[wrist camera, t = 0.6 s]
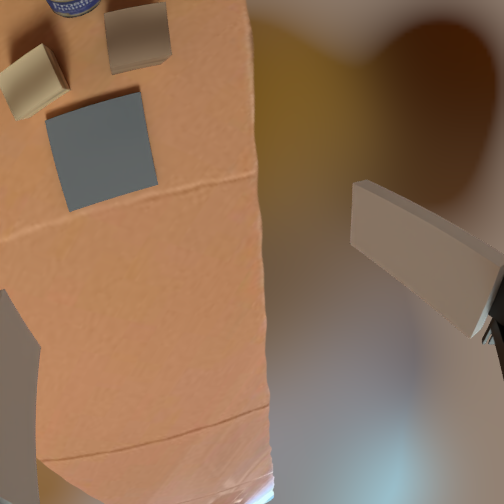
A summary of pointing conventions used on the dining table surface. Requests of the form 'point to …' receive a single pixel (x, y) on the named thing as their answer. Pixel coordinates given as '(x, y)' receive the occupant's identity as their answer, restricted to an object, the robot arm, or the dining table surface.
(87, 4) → the pill bottle
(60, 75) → the oak block
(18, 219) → the dining table surface
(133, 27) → the walnut block
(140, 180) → the slate coaster
